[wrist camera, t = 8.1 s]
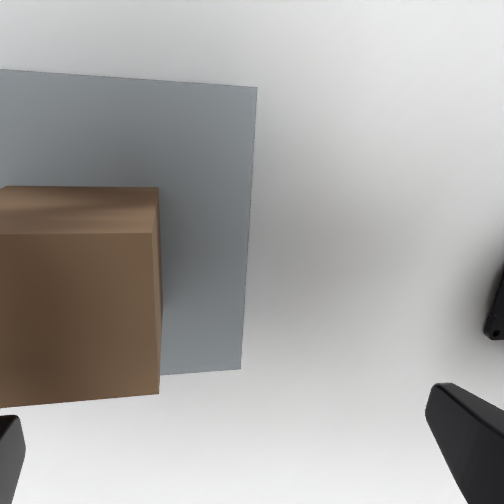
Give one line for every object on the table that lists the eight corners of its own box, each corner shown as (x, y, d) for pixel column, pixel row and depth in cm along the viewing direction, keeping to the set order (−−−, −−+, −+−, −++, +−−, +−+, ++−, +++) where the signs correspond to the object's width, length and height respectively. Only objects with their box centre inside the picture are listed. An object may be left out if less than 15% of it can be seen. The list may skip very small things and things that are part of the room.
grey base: (242, 88, 16) (257, 87, 13) (231, 332, 20) (240, 369, 18) (-89, 65, 14) (-155, 58, 11) (-21, 346, 18) (-55, 391, 15)
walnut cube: (158, 187, 14) (151, 232, 9) (163, 307, 16) (158, 393, 11) (6, 185, 13) (-84, 235, 8) (30, 313, 15) (-34, 410, 10)
